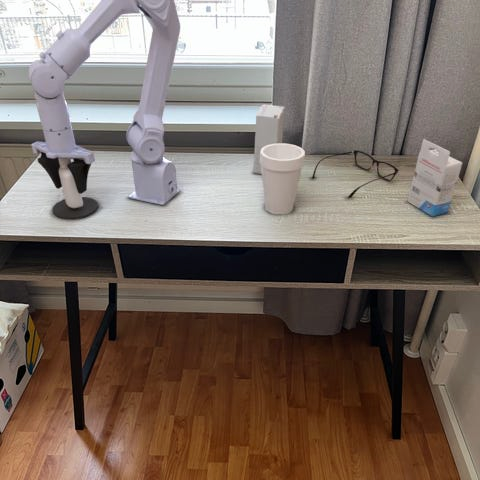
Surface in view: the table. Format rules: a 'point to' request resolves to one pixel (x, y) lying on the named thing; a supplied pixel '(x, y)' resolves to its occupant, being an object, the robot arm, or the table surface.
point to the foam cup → (281, 175)
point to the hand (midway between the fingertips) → (71, 189)
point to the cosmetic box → (267, 130)
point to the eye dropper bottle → (69, 184)
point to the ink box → (434, 179)
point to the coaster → (75, 209)
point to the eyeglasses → (364, 169)
